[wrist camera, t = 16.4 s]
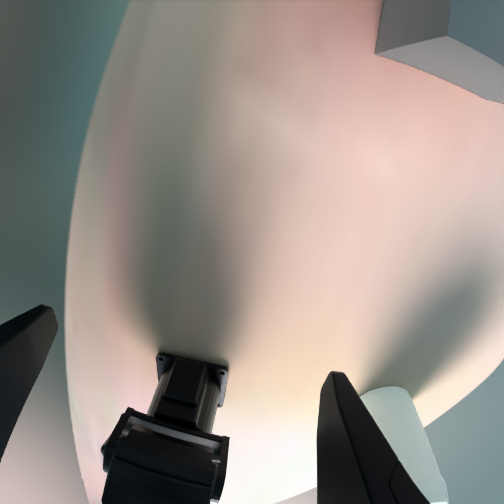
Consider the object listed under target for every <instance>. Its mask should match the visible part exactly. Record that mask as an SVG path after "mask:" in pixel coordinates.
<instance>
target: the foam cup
mask: <svg viewBox="0 0 504 504" xmlns="http://www.w3.org/2000/svg"><path fill="white" fill-rule="evenodd" d="M359 397H360V398H361V400H362V401H363V403H364V405H365V406H366V408H367V409H368V411H369V412H370V414H371V416H372V417H373V419H374V420H375V422H376V424H377V425H378V427H379V428H380V430H381V431H382V433H383V435H384V436H385V438H386V439H387V441H388V443H389V444H390V446H391V447H392V449H393V451H394V452H395V454H396V455H397V457H398V460H400V462H401V463H402V465H403V466H404V468H405V470H406V471H407V473H408V474H409V476H410V477H411V479H412V480H413V482H414V483H415V484H416V486H417V487H418V488H419V490H420V491H421V492H422V494H423V495H424V496H425V497H426V498H427V500H428V501H429V502H430V503H431V504H449V500H448V494H447V489H446V483H445V481H444V479H443V478H442V477H441V474H440V471H439V469H438V466H437V463H436V460H435V457H434V455H433V452H432V449H431V446H430V444H429V441H428V439H427V436H426V433H425V431H424V428H423V426H422V423H421V421H420V418H419V416H418V413H417V411H416V408H415V406H414V403H413V401H412V399H411V397H410V395H409V393H408V391H407V390H406V389H403V388H401V387H398V386H391V387H381V388H378V389H374V390H370V391H368V392H366V393H365V394H363V395H361V396H359Z"/></svg>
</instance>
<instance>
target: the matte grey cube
mask: <svg viewBox="0 0 504 504" xmlns="http://www.w3.org/2000/svg"><path fill="white" fill-rule="evenodd" d="M375 54H376V55H379V56H382V57H385V58H388V59H391V60H394V61H397V62H400V63H403V64H406V65H409V66H411V67H414V68H417V69H419V70H422V71H424V72H427V73H429V74H432V75H434V76H437V77H439V78H441V79H444V80H446V81H448V82H451V83H453V84H455V85H457V86H459V87H461V88H464V89H466V90H468V91H470V92H472V93H474V94H476V95H478V96H480V97H482V98H484V99H486V100H490V101H494V102H499V103H503V104H504V0H383V6H382V13H381V20H380V26H379V33H378V39H377V44H376V50H375Z"/></svg>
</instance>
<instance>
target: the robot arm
mask: <svg viewBox="0 0 504 504" xmlns="http://www.w3.org/2000/svg"><path fill="white" fill-rule="evenodd" d="M57 331H58V323H57V320H56V316H55V313H54V310H53V308H52V307H50V306H48V305H44V304H41V305H39V306H37V307H35V308H33V309H31V310H29V311H27V312H25V313H23V314H21V315H19V316H17V317H15V318H13V319H11V320H9V321H7V322H5V323H3V324H1V325H0V462H1V458H2V456H3V454H4V451H5V448H6V446H7V443H8V441H9V438H10V436H11V433H12V431H13V429H14V426H15V424H16V422H17V419H18V417H19V415H20V413H21V411H22V408H23V406H24V404H25V402H26V400H27V398H28V396H29V394H30V391H31V389H32V387H33V385H34V383H35V381H36V379H37V377H38V375H39V373H40V371H41V369H42V367H43V365H44V362H45V360H46V357H47V355H48V353H49V350H50V348H51V345H52V342H53V340H54V338H55V336H56V333H57ZM156 362H157V372H158V381H159V383H158V386H157V388H156V391H155V394H154V396H153V399H152V402H151V404H150V407H149V410H148V412H147V414H144V413H141V412H138V411H136V410H134V409H133V408H130V407H128V408H127V410H126V412H125V413H123V414H121V417H120V419H119V421H118V423H117V425H116V427H115V428H114V430H113V432H112V434H111V435H110V436H109V438H108V439H107V440H106V441H105V443H104V444H103V445H102V447H101V452H102V454H103V456H104V459H103V470H104V472H107V473H108V475H107V479H106V483H105V487H104V491H103V496H102V504H218V502H219V500H220V497H221V494H222V490H223V487H224V482H225V477H226V468H227V458H228V448H229V439H230V437H227V436H223V437H222V436H218V435H214V434H211V433H212V428H213V424H214V419H215V415H216V410H217V407H222V406H223V402H224V395H225V389H226V383H227V377H228V368H226V367H224V366H220V365H215V364H210V363H205V362H201V361H196V360H192V359H187V358H183V357H179V356H174V355H170V354H166V353H162V352H159V353H158V354H157V356H156ZM317 504H431V503H430V502H429V501H428V500H427V498H426V497H425V496H424V495H423V494H422V492H421V491H420V490H419V488H418V487H417V486H416V484H415V483H414V482H413V480H412V479H411V477H410V476H409V474H408V473H407V471H406V470H405V468H404V466H403V465H402V463H401V462H400V460H398V457H397V455H396V454H395V452H394V451H393V449H392V447H391V446H390V444H389V443H388V441H387V439H386V438H385V436H384V435H383V433H382V431H381V430H380V428H379V427H378V425H377V424H376V422H375V420H374V419H373V417H372V416H371V414H370V412H369V411H368V409H367V408H366V406H365V405H364V403H363V401H362V400H361V398H360V397H359V395H358V394H357V392H356V390H355V389H354V387H353V386H352V384H351V383H350V381H349V379H348V378H347V376H346V375H345V374H344V373H343V372H337V371H331V372H330V373H329V375H328V376H327V378H326V380H325V382H324V384H323V386H322V388H321V393H320V405H319V416H318V427H317Z"/></svg>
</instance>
